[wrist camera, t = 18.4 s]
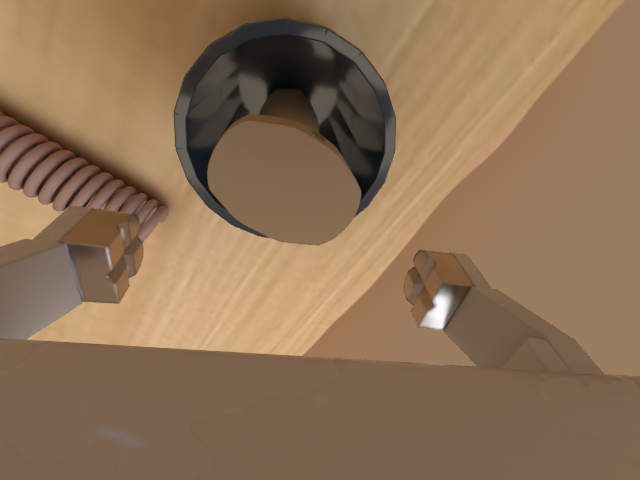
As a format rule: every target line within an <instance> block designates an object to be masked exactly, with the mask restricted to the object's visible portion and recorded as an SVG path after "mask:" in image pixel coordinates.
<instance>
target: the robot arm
mask: <svg viewBox="0 0 640 480" xmlns="http://www.w3.org/2000/svg"><path fill="white" fill-rule="evenodd" d="M140 229H141V227H140V221H139V217H138V216H137V215H136V214H130V213H123V212H116V211H109V210H102V209H94V208H88V207H80V206H72V207H69V208H68V209H67V210H66V211H64V212H63V213H62V214H61V215H60V216H59V217H58V218H56V219H55V220H54V221H53V222H52V223H51V224H50V225H48V226H47V227H46V228H45V229H44V230H43V231H42V232H41V233H39V234H38V235H37V236H36V237H35V238H34V239H33V240H29V239H24V240H20V241H17V242H14V243H11V244H8V245H5V246H2V247H0V480H640V376H625V375H610V374H604V373H603V372H602V371H601V370H600V368H599V367H598V366H597V365H596V364H595V363H594V361H593V360H592V359H591V358H590V357H589V356H588V355H587V353H586V352H585V351H584V350H583V349H582V347H581V346H580V345H579V344H578V343H577V342H576V341H575V340H574V339H573V338H571V337H570V336H568V335H566V334H565V333H563V332H562V331H560V330H559V329H557V328H556V327H554V326H553V325H551V324H550V323H548V322H546V321H545V320H543V319H542V318H540V317H539V316H537V315H535V314H534V313H533V312H531V311H529V310H528V309H526V308H525V307H523V306H522V305H520V304H519V303H517V302H516V301H514V300H512V299H511V298H509V297H508V296H506V295H505V294H503V293H502V292H500V291H499V290H497V289H492V288H491V287H490V285H489V284H488V282H487V281H486V280H485V278H484V277H483V276H482V274H481V273H480V271H479V270H478V269H477V267H476V266H475V265H474V263H473V262H472V260H471V259H470V258H469V257H468V256H467V255H465V254H456V253H443V252H434V251H423V250H419V251H418V252H417V253H416V255H415V257H414V259H413V262H414V265H415V267H413V268H412V269H410V270H409V271H408V272H407V275H406V277H405V281H404V293H405V296H406V299H407V300H408V301H409V302H410V303H411V304H412V305H413V308H412V310H411V311H412V314H413V316H414V319H415V321H416V323H417V326H418V328H427V329H436V330H444V332H445V333H446V334H447V335H448V337H450V339H451V340H452V341H454V343H456V345H457V346H458V347H459V348H460V349H461V350H462V351H463V352H464V353H465V354H466V355H467V356H468V357H469V358H470V359H471V360H472V361H473V362H474V363H475V364H476V365H477V366H478V367H474V366H456V365H439V364H421V363H406V362H390V361H374V360H358V359H342V358H324V357H307V356H291V355H274V354H257V353H239V352H222V351H205V350H189V349H172V348H155V347H138V346H121V345H105V344H88V343H71V342H54V341H37V340H26V339H28V338H29V337H31V336H32V335H34V334H35V333H37V332H38V331H40V330H42V329H43V328H45V327H46V326H48V325H49V324H51V323H52V322H54V321H56V320H57V319H59V318H60V317H62V316H63V315H65V314H66V313H68V312H69V311H71V310H73V309H74V308H76V307H77V306H79V305H80V304H82V302H99V303H117V304H119V303H120V301H121V299H122V298H123V296H124V294H125V292H126V291H127V289H128V287H129V286H130V285H129V279H128V278H130V277H132V276H134V275H136V274H137V272H138V270H139V268H140V266H141V262H142V259H143V242H142V241H141V240H140V238H139V237H138V236H137V233H138V232H139V230H140Z"/></svg>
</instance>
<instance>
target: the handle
mask: <svg viewBox="0 0 640 480" xmlns="http://www.w3.org/2000/svg"><path fill="white" fill-rule="evenodd" d="M207 176H208V185H209V190H210V191H211V192H212V193H213V194H214V196H215V197H216V198H217V199H218V200H219V201H220V203H221V204H222V205H223V206H224V207H225V208H226V209H227V210H228V211H229V213H230V214H231V215H232V216H234V217H235V218H236V219H237V220H238V221H239V222H241V223H242V224H244V225H246V226H247V227H249V228H251V229H253V230H255V231H257V232H259V233H261V234H263V235H266V236H268V237H270V238H272V239H275V240H278V241H281V242H287V243H295V244H307V245H321V244H323V243H326V242H328V241H330V240H332V239H334V238H335V237H336V236H337V235H339V234H340V233H341V232H342V231H343V230H344V229H345V228H346V227H347V226H348V225H349V223H350V222H351V221H352V219H353V218H354V216H355V214H356V212H357V210H358V208H359V204H360V200H361V190H360V187H359V185H358V183H357V181H356V179H355V177H354V175H353V173H352V172H351V170H350V168H349V166H348V165H347V163H346V161H345V160H344V158H343V156H342V155H341V154H340V152H339V151H338V149H337V148H336V147H335V146H334V145H333V144H332V143H331V142H330V141H328V140H327V139H326V138H324V137H323V136H322V135H321V134H319V125H318V120H317V116H316V113H315V111H314V108H313V107H312V105H311V103H310V102H309V100H308V99H307V98H306V97H305V96H304V94H303V92H302V91H301V90H299V89H297V88H295V89H281V88H278V89H276V90H275V91H274V92H273V94H271V95H270V96H269V97H268V98H267V99H266V101H265V102H264V104H263V105H262V107H261V110H260V113H259V115H256V114H249V115H247V116H244V117H242V118H240V119H239V120H237V121H236V122H234V123H233V124H232V125H231V126H230V127H229V128H228V129H227V130H226V131H225V132H224V134H223V136H222V137H221V139H220V140H219V142H218V143H217V145H216V147H215V148H214V150H213V153H212V156H211V158H210V161H209V165H208V171H207Z"/></svg>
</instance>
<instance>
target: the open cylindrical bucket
mask: <svg viewBox="0 0 640 480" xmlns="http://www.w3.org/2000/svg"><path fill="white" fill-rule="evenodd" d="M278 88H281V89H295V88H297V89H299V90H301V91H302V92H303V94H304V96H305V97H306V98H307V99H308V100H309V102H310V103H311V105H312V107H313V108H314V111H315V113H316V116H317V120H318V125H319V134H321V135H322V136H323V137H324V138H326V139H327V140H328V141H330V142H331V143H332V144H333V145H334V146H335V147H336V148H337V149H338V151H339V152H340V154H341V155H342V156H343V158H344V160H345V161H346V163H347V165H348V166H349V168H350V170H351V172H352V173H353V175H354V177H355V179H356V181H357V183H358V185H359V187H360V190H361V200H360V204H359V208H358V210H357V212H356V214H355V216H357V215H358V214H359V213H360V212H362V211H363V210H364V209H365V208H367V207H368V206H369V204H370V203H371V201H372V200H373V198H374V197H375V196H376V194H377V193H378V191H379V190H380V189H381V187H382V186H383V184H384V183H385V181H386V178H387V175H388V172H389V169H390V166H391V162H392V159H393V156H394V153H395V134H396V118H395V113H394V110H393V107H392V104H391V100H390V97H389V94H388V91H387V88H386V84H385V83H384V80H383V79H382V78H381V76H380V75H379V74H378V72H377V71H376V70H375V68H374V67H373V65H372V64H371V63H370V61H369V60H368V59H367V57H366V56H365V55H364V53H363V52H362V51H361V50H360V49H359V48H357V47H356V46H354V45H353V44H351V43H350V42H348V41H347V40H345V39H344V38H342V37H341V36H339V35H338V34H336V33H335V32H333V31H332V30H330V29H329V28H326V27H324V26H321V25H317V24H314V23H311V22H306V21H302V20H298V19H294V18H290V17H285V18H278V19H271V20H264V21H258V22H252V23H246V24H243V25H242V26H240V27H238V28H236V29H235V30H233V31H231V32H230V33H228V34H226V35H224V36H223V37H221V38H219V39H218V40H216V41H214V42H212V43H211V44H210V45H209V46H208V47H207V48H206V49H205V50H204V52H203V53H202V54H201V55H200V57H199V58H198V59H197V61H196V62H195V63H194V64H193V66H192V67H191V68H190V70H189V71H188V72H187V73H186V76H185V77H184V80H183V83H182V86H181V89H180V93H179V96H178V99H177V103H176V106H175V109H174V129H175V147H176V151H177V154H178V156H179V159H180V162H181V164H182V167H183V170H184V172H185V175H186V178H187V180H188V182H189V183H190V184H191V186H192V187H193V188H194V190H195V191H196V192H197V194H198V195H199V196H200V198H201V199H202V200H203V201H204V203H205V204H206V205H207V206H208V207H209V208H210V209H211V210H213V211H214V212H215V213H217V214H218V215H219V216H221V217H222V218H223V219H225V220H226V221H227V222H229V223H230V224H231V225H233V226H235V227H237V228H240V229H242V230H245V231H247V232H250V233H252V234H255V235H257V236H261V237H266V238H270V237H268V236H266V235H263V234H261V233H259V232H257V231H255V230H253V229H251V228H249V227H247V226H246V225H244V224H242V223H241V222H239V221H238V220H237V219H236V218H235V217H234V216H232V215H231V214H230V213H229V211H228V210H227V209H226V208H225V207H224V206H223V205H222V204H221V203H220V201H219V200H218V199H217V198H216V197H215V196H214V194H213V193H212V192H211V191H210V190H209V185H208V176H207V171H208V165H209V161H210V158H211V156H212V153H213V150H214V148H215V147H216V145H217V143H218V142H219V140H220V139H221V137H222V136H223V134H224V132H225V131H226V130H227V129H228V128H229V127H230V126H231V125H232V124H233V123H234V122H236V121H237V120H239V119H240V118H242V117H244V116H247V115H249V114H256V115H259V113H260V110H261V107H262V105H263V104H264V102H265V101H266V99H267V98H268V97H269V96H270V95H271V94H273V92H274V91H275V90H276V89H278ZM355 216H354V217H355Z"/></svg>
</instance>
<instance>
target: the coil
mask: <svg viewBox="0 0 640 480" xmlns="http://www.w3.org/2000/svg"><path fill="white" fill-rule="evenodd" d="M7 127H8V128H7ZM22 136H23V137H22ZM36 144H38V146H36ZM1 149H2V150H1ZM0 150H1V151H0V182H3V183H4V182H8V185H9V187H10V188H12V189H14V190H21V189H23V192H24V194H25V195H26V196H28V197H36V196H38V195H39V196H38V200H39V202H40V203H42V204H50V203H52V202H53V208H54V210H56V211H63V210H65V209H66V208H67V207H68V206H69V207H72V206H80V207H86V206H87V204H88V203H89V201H90V200H91V198H92V196H93V195H94V193H95V191H96V190H97V189H98V188H99V187H101V188H100V190H99V192H98V194H97V195H96V196H95V198H94V199H93V200H92V201H91V202H90V204H89V205H88V206H87V207H88V208H94V209H101V207H102V206H103V204H104V203H105V202H106V201H107V200H108V199H109V198H110V196H111V195H112V196H111V198H110V200H109V201H108V203H107V205H106V207H105V208H104V210H109V211H117V210H118V208H119V207H120V208H119V210H118V212H123V213H130V214H136V215H137V216H138V217H139V221H140V227H141V229H140V230H139V232H138V233H137V236H138V237H139V238H140V240H141V241H142V242H144V240H145V239H146V238H147V237H148V236H149V234H150V233H151V232H152V231H153V229H154V228H155V227H156V226H157V224H158V223H159V222H164V220H165V219H166V217H167V215H168V212H169V208H168V207H167V206H165V205H163V206H160V207H159V208H158V201H156V200H155V199H151V200H149V201H148V202H147V199H148V197H147V195H146V194H145V193H139V194H137V195H136V193H137V192H136V189H135V188H134V187H132V186H128V187H125V184H124V182H123V181H122V180H119V179H117V180H113V176H112V175H111V174H110V173H106V172H104V173H101V170H100V168H99V167H97V166H95V165H90V166H89V164H88V162H87V161H86V160H85V159H83V158H76V156H75V154H74V153H73V152H71V151H69V150H63V149H62V147H61V146H60V145H59V144H57V143H54V142H49V141H48V139H47V138H46V137H45V136H43V135H41V134H35V133H34V131H33V130H32V129H31V128H29V127H27V126H24V125H20V124H19V122H18V121H16V120H15V119H14V118H11V117H8V116H5V115H4V114H3V113H2V112H1V111H0ZM49 153H51V155H50V156H49ZM48 156H49V157H48ZM63 161H65V163H64V164H63V165H62V166H61V164H62V162H63ZM60 166H61V167H60ZM77 169H78V170H77ZM75 170H77V173H76V174H75V175H74V176H73V177H72V175H73V173H74V171H75ZM71 177H72V178H71ZM88 178H89V181H88V183H87V184H86V185H85V186H84V187H83V188H82V186H83V184H84V182H85V181H86V180H87V179H88ZM81 188H82V190H81ZM80 190H81V191H80ZM79 191H80V192H79ZM69 207H68V208H69ZM157 208H158V209H157Z"/></svg>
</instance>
